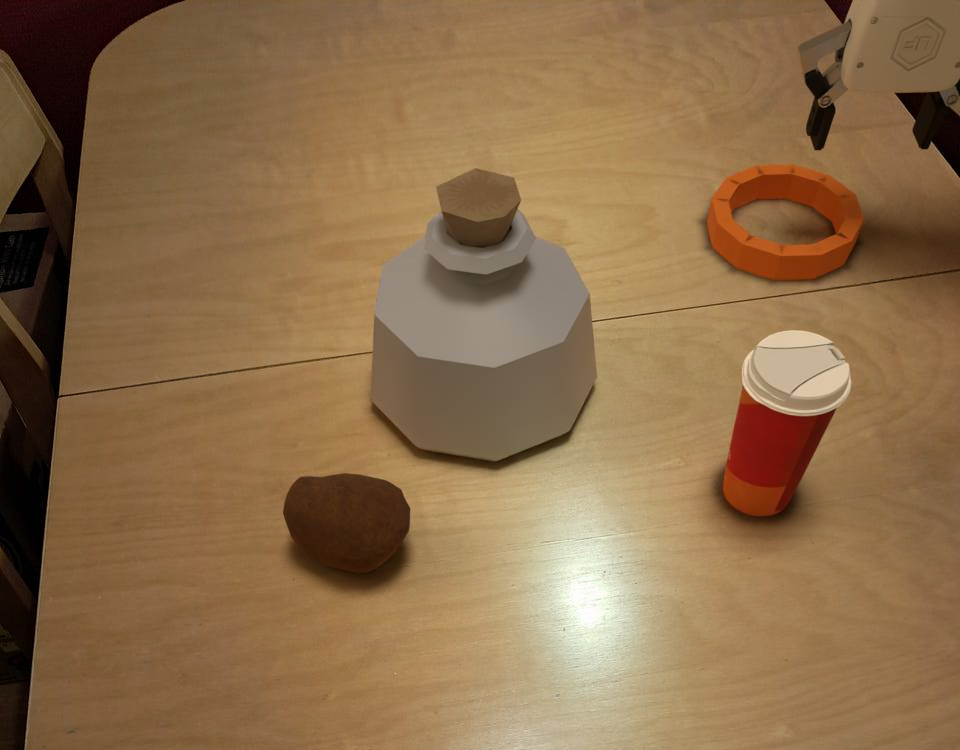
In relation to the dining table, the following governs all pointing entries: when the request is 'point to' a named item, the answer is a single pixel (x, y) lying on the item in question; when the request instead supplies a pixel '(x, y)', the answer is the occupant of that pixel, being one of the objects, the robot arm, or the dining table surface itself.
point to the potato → (347, 519)
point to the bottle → (481, 329)
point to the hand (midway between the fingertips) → (867, 141)
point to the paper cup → (782, 417)
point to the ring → (794, 187)
